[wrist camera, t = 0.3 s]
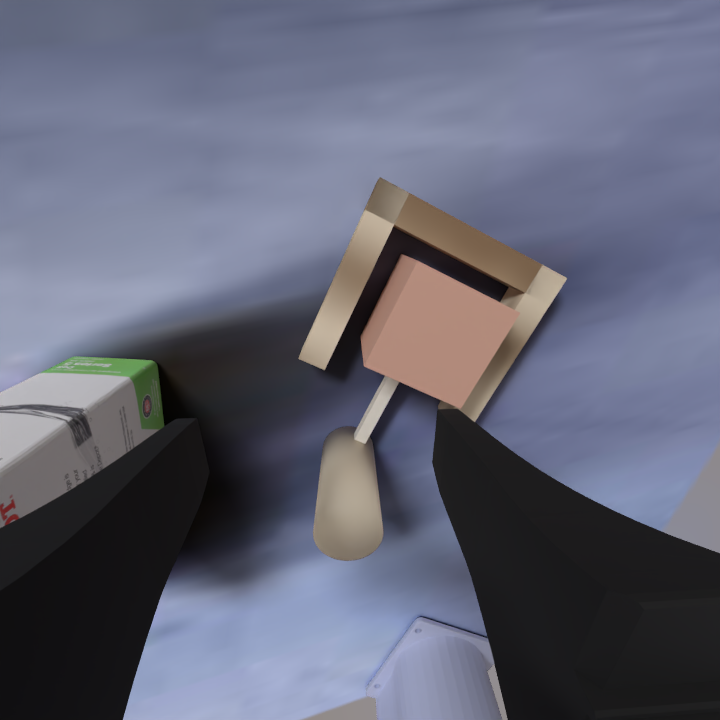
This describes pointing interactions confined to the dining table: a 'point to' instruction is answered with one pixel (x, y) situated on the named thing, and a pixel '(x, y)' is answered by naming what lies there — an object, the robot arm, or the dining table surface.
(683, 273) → the dining table surface
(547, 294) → the shelf
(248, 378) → the dining table surface
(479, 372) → the pink handled block
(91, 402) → the ink box
